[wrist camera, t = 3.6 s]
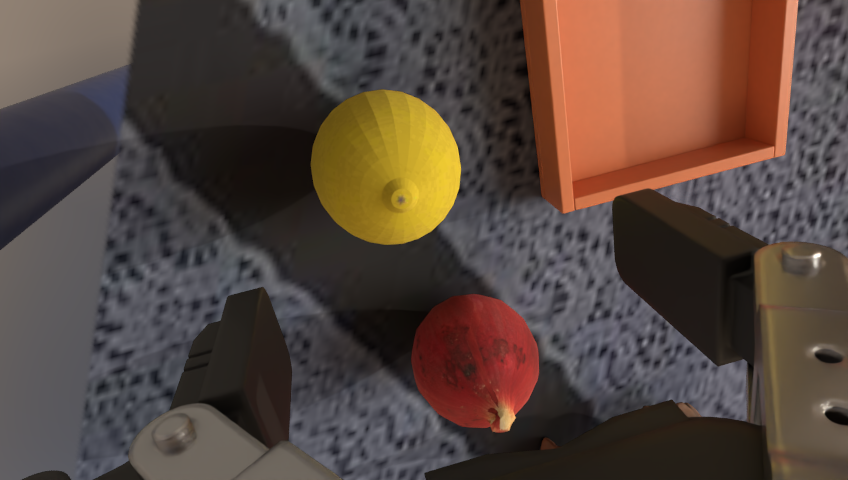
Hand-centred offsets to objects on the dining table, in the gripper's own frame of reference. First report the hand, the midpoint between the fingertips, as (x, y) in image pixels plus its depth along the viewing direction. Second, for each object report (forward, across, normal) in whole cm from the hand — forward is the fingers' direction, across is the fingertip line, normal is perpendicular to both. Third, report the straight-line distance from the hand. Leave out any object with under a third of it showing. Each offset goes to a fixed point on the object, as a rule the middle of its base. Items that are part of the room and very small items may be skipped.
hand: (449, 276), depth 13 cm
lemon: (+14, 0, 0) cm, 14 cm away
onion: (+14, -2, +10) cm, 17 cm away
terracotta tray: (+14, -13, -1) cm, 19 cm away
